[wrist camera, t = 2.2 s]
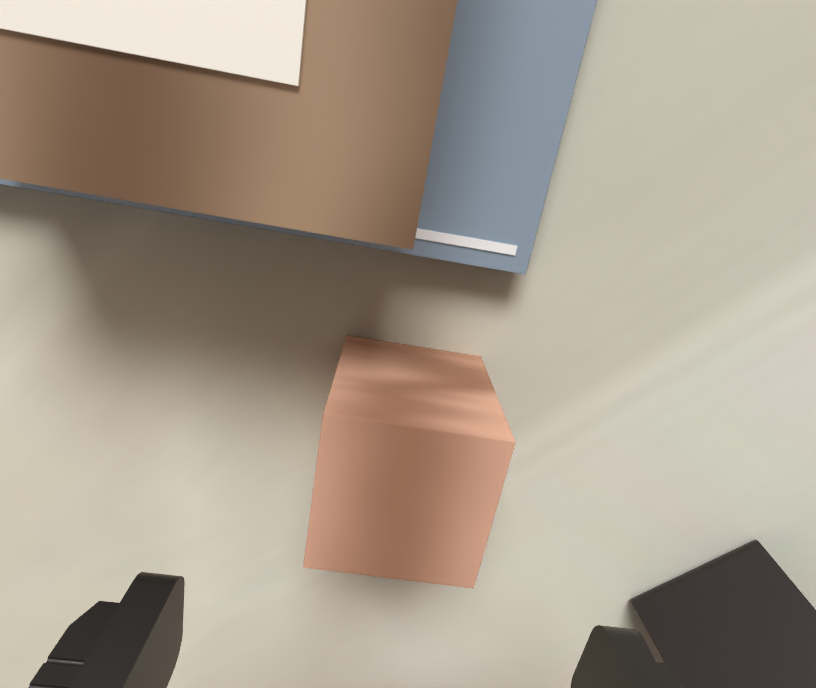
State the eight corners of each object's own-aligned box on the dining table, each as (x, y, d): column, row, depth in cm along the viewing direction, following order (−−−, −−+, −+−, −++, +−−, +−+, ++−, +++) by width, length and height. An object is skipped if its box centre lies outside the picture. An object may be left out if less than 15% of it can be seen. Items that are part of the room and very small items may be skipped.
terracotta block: (480, 356, 19) (515, 442, 13) (453, 468, 20) (473, 588, 15) (346, 334, 18) (323, 414, 13) (330, 451, 20) (303, 567, 14)
